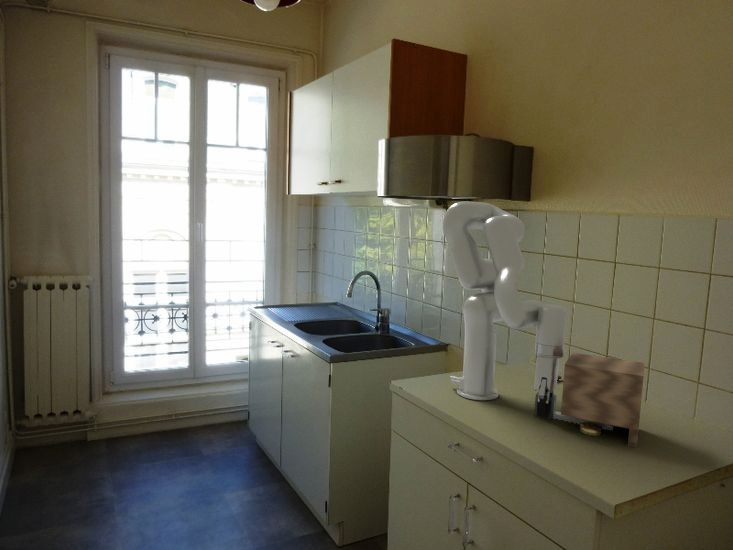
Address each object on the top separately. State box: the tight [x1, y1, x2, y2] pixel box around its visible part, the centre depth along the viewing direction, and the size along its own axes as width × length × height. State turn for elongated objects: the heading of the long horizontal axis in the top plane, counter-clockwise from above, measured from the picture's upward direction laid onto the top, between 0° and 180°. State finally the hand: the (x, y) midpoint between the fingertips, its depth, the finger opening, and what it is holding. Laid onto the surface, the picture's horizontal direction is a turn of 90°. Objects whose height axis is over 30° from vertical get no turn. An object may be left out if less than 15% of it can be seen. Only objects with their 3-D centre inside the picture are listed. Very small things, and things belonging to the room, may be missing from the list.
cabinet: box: [560, 352, 646, 449], centre depth 141 cm, size 18×14×18 cm
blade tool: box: [533, 391, 614, 432], centre depth 147 cm, size 20×4×6 cm, turn 62°
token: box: [579, 422, 602, 437], centre depth 141 cm, size 5×5×2 cm
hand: (544, 411), depth 151 cm, fingers open, 5 cm apart
